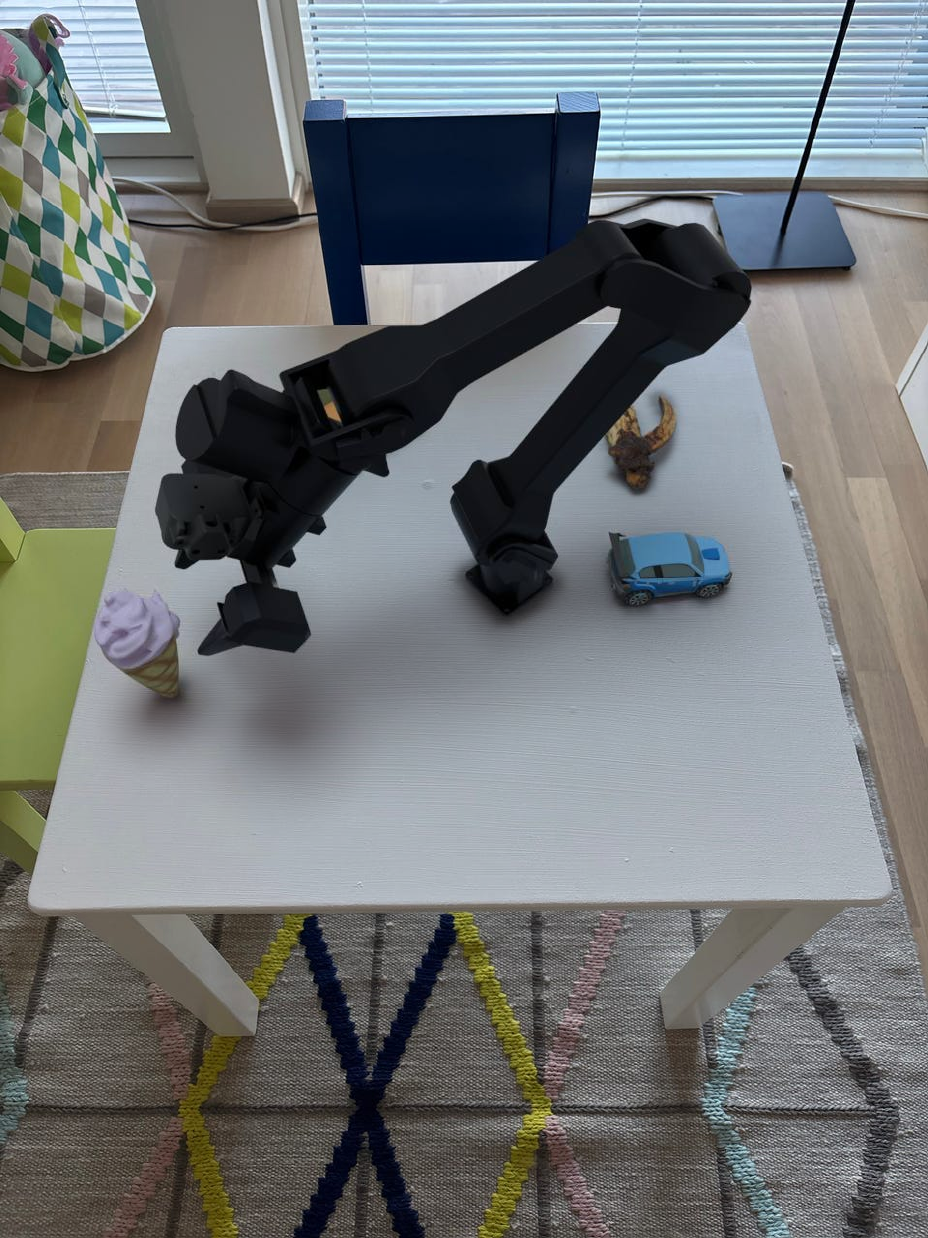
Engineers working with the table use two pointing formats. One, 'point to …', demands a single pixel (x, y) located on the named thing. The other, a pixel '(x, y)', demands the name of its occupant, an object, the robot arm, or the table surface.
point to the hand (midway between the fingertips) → (190, 609)
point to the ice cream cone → (141, 639)
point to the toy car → (666, 566)
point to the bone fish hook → (639, 443)
